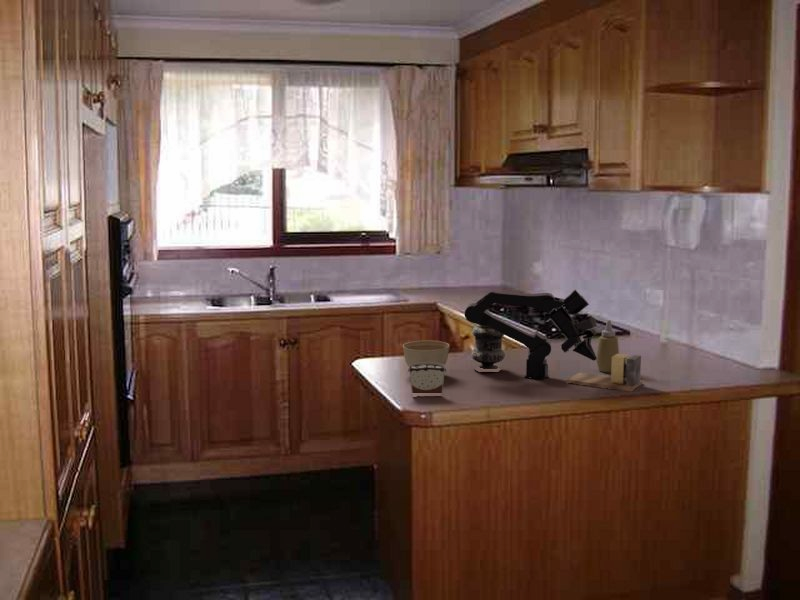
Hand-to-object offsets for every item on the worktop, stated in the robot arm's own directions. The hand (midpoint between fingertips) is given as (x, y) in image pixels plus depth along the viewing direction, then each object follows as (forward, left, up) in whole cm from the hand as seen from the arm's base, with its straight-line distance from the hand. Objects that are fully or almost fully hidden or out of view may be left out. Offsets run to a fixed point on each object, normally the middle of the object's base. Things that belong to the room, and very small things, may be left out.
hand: (595, 359), depth 288 cm
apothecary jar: (-39, -2, -8) cm, 40 cm away
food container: (-41, -42, -8) cm, 59 cm away
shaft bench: (+3, 0, -8) cm, 8 cm away
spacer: (+8, 0, -6) cm, 11 cm away
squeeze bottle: (-2, +18, -8) cm, 20 cm away
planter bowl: (-54, -20, -8) cm, 58 cm away
